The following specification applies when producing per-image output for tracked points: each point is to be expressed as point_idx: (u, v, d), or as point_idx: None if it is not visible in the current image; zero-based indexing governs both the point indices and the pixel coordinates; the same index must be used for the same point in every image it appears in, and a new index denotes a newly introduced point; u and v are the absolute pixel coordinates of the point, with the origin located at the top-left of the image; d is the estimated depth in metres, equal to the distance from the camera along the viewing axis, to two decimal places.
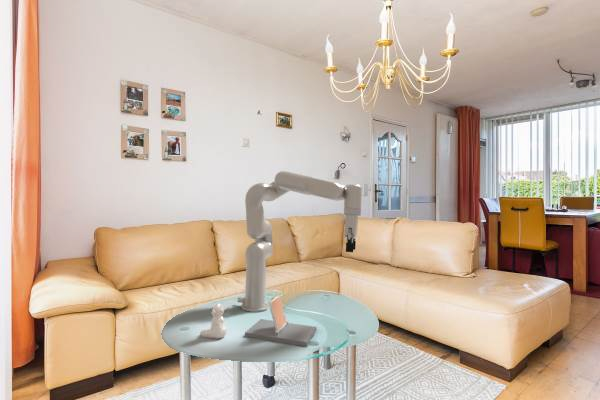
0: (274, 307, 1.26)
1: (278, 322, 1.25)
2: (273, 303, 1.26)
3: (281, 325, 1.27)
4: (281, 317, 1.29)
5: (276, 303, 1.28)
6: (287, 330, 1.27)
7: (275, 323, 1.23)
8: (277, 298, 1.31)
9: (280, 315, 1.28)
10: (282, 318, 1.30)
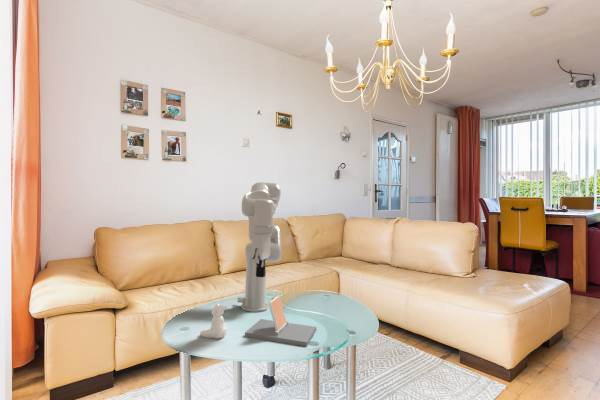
0: (274, 307, 1.26)
1: (278, 322, 1.25)
2: (273, 303, 1.26)
3: (281, 325, 1.27)
4: (281, 317, 1.29)
5: (276, 303, 1.28)
6: (287, 330, 1.27)
7: (275, 323, 1.23)
8: (277, 298, 1.31)
9: (280, 315, 1.28)
10: (282, 318, 1.30)
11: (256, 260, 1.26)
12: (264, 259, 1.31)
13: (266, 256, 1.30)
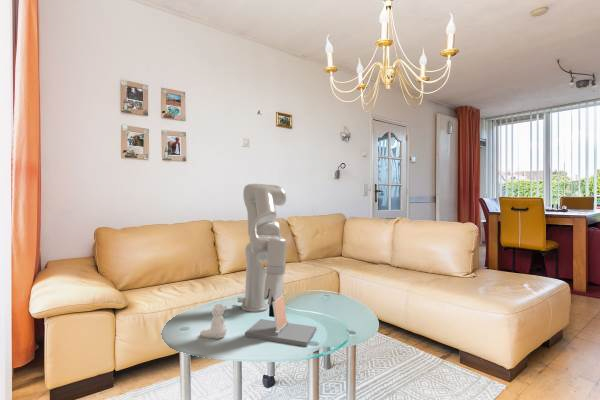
0: (277, 307, 1.25)
1: (279, 322, 1.25)
2: (277, 303, 1.26)
3: (281, 325, 1.27)
4: (282, 317, 1.29)
5: (279, 303, 1.28)
6: (287, 330, 1.27)
7: (276, 323, 1.23)
8: (281, 298, 1.31)
9: (281, 315, 1.28)
10: (283, 318, 1.29)
11: (269, 301, 1.24)
12: None
13: (279, 296, 1.28)
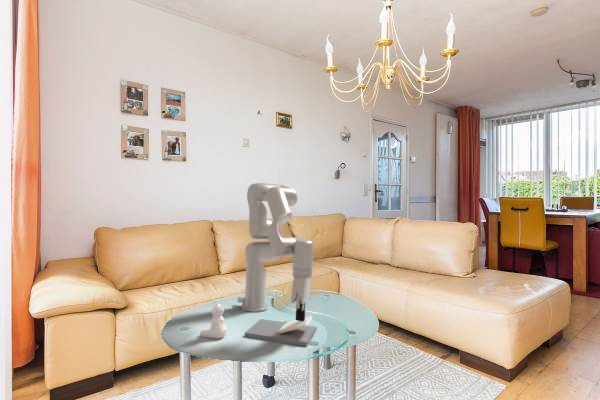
0: None
1: None
2: None
3: None
4: None
5: None
6: None
7: (286, 330, 1.22)
8: None
9: None
10: None
11: (297, 305, 1.21)
12: None
13: (306, 299, 1.26)
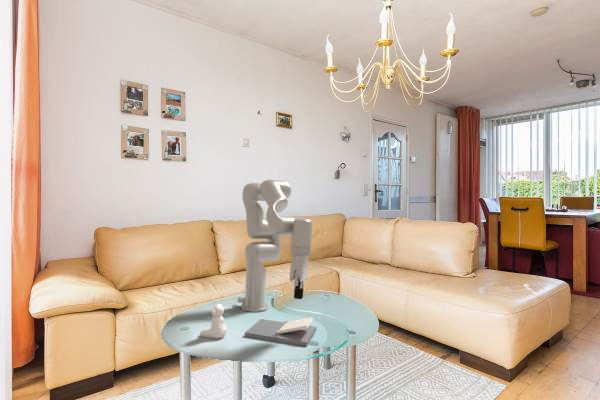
0: None
1: None
2: None
3: None
4: None
5: None
6: None
7: (286, 331, 1.22)
8: None
9: None
10: None
11: (296, 282, 1.22)
12: (302, 280, 1.27)
13: (304, 277, 1.26)
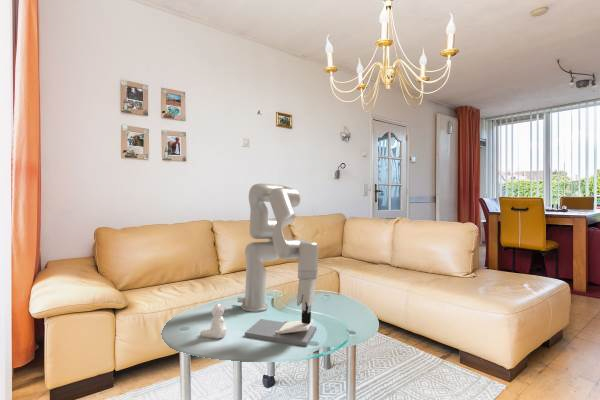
0: None
1: None
2: None
3: None
4: None
5: None
6: None
7: (286, 331, 1.22)
8: None
9: None
10: None
11: (303, 307, 1.20)
12: None
13: (312, 301, 1.25)
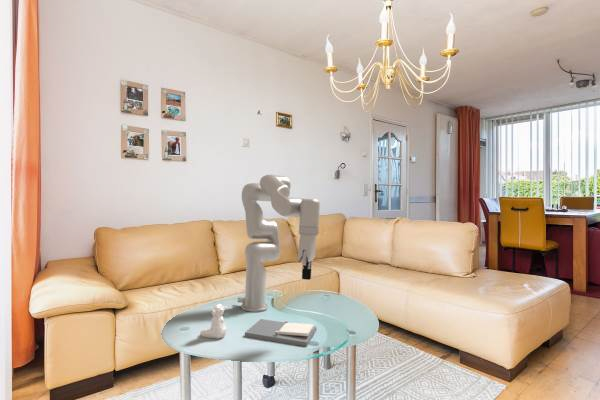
0: None
1: None
2: None
3: None
4: None
5: None
6: None
7: (286, 333, 1.22)
8: None
9: None
10: None
11: (304, 262, 1.21)
12: (310, 261, 1.27)
13: (312, 258, 1.26)
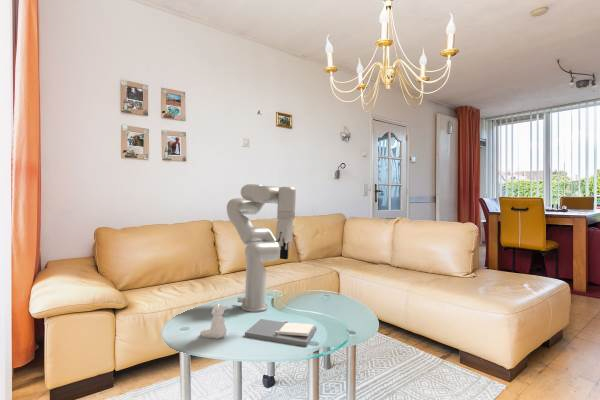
0: None
1: None
2: None
3: None
4: None
5: None
6: None
7: (286, 333, 1.22)
8: None
9: None
10: None
11: (281, 243, 1.35)
12: (287, 242, 1.41)
13: (289, 239, 1.40)
